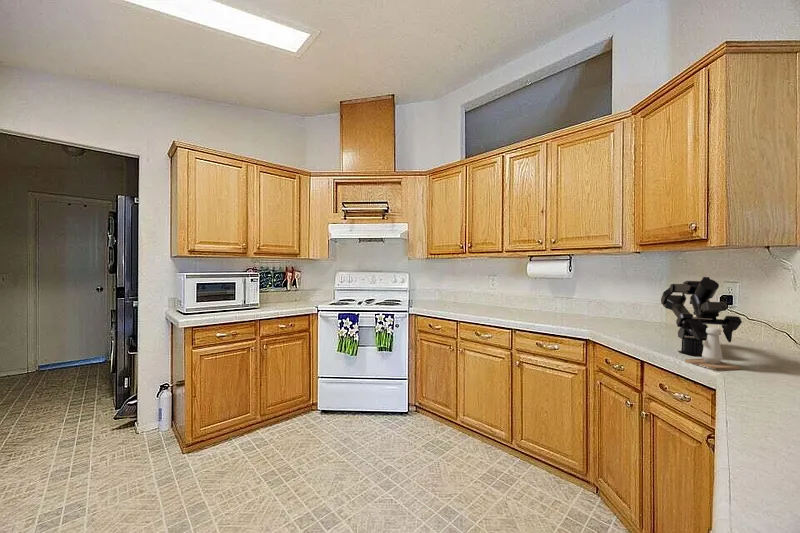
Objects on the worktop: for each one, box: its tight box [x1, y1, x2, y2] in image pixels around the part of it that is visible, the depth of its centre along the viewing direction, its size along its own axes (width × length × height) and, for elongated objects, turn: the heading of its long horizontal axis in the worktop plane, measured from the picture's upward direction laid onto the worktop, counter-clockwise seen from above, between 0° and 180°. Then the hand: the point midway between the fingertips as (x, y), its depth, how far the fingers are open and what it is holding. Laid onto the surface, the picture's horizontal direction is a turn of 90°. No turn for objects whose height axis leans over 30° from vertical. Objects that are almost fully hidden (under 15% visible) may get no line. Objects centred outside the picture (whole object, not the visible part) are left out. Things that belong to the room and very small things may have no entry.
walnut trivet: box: [684, 358, 741, 371], centre depth 137 cm, size 11×11×1 cm
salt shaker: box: [701, 326, 723, 364], centre depth 137 cm, size 6×6×13 cm
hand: (714, 340), depth 135 cm, fingers open, 9 cm apart
